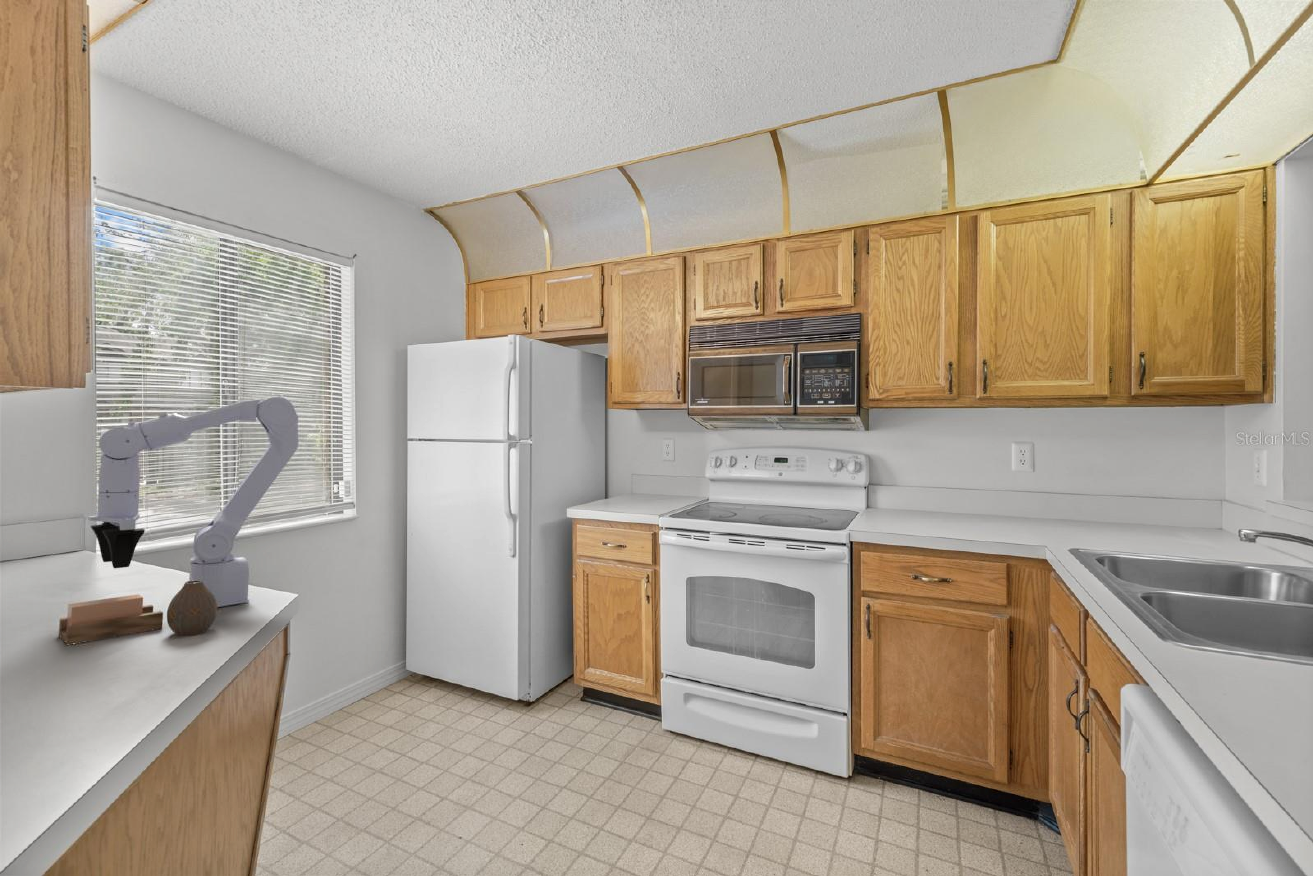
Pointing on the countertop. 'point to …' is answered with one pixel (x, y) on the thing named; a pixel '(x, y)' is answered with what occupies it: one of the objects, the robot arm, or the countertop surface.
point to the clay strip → (104, 609)
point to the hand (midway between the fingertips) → (115, 564)
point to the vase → (192, 609)
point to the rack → (111, 626)
